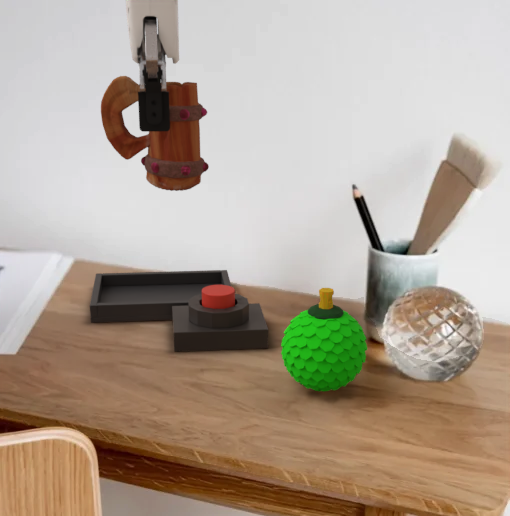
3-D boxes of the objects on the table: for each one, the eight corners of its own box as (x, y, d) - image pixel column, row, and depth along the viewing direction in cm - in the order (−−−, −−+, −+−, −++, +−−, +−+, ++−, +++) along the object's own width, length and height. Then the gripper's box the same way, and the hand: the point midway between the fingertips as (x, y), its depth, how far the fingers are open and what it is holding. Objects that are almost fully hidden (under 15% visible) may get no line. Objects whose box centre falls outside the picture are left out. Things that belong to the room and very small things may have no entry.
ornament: (351, 413, 77) (357, 310, 73) (268, 398, 79) (269, 298, 75) (373, 378, 84) (380, 282, 79) (295, 365, 86) (298, 271, 82)
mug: (212, 182, 98) (211, 74, 93) (205, 194, 92) (203, 79, 87) (113, 180, 99) (107, 73, 94) (99, 192, 93) (92, 77, 88)
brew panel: (174, 351, 89) (173, 316, 87) (172, 323, 96) (171, 290, 95) (268, 348, 90) (268, 313, 88) (259, 321, 97) (259, 288, 96)
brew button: (202, 311, 90) (202, 296, 89) (201, 299, 93) (200, 284, 92) (236, 310, 90) (236, 294, 90) (233, 298, 94) (233, 283, 93)
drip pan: (90, 322, 96) (89, 305, 96) (96, 289, 107) (95, 273, 106) (235, 317, 98) (235, 301, 97) (227, 285, 109) (227, 269, 108)
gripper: (187, -59, 78) (192, 138, 85) (182, -53, 94) (186, 114, 101) (105, -60, 77) (117, 139, 84) (114, -54, 93) (123, 114, 100)
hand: (154, 124), depth 93 cm, fingers closed on mug, 6 cm apart
